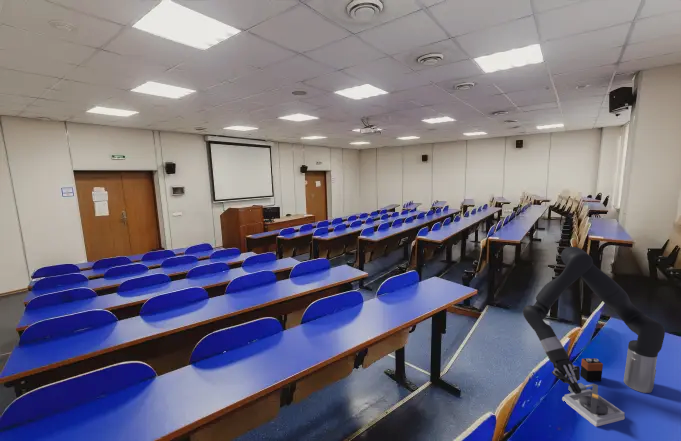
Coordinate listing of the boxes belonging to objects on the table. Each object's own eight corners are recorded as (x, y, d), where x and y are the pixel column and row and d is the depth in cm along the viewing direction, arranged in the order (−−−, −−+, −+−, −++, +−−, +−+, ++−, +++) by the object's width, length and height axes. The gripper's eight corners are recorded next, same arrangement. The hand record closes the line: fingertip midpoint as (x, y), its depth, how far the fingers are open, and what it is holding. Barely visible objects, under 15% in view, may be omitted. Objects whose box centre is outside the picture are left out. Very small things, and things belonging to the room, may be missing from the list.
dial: (579, 394, 128) (581, 375, 127) (607, 404, 122) (610, 384, 121) (578, 411, 120) (580, 391, 118) (607, 423, 114) (610, 402, 112)
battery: (579, 375, 142) (581, 356, 141) (593, 375, 142) (596, 356, 141) (586, 381, 138) (588, 362, 136) (601, 381, 138) (603, 362, 136)
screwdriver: (573, 395, 131) (574, 389, 130) (567, 390, 133) (568, 385, 133) (597, 388, 134) (598, 383, 133) (591, 385, 136) (592, 379, 136)
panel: (588, 393, 131) (589, 387, 130) (624, 419, 117) (625, 412, 117) (562, 399, 128) (562, 393, 128) (595, 426, 115) (596, 419, 114)
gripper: (547, 349, 128) (572, 395, 118) (572, 344, 130) (598, 389, 121) (536, 353, 134) (558, 397, 124) (560, 349, 136) (584, 391, 127)
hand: (578, 393), depth 122 cm, fingers closed
